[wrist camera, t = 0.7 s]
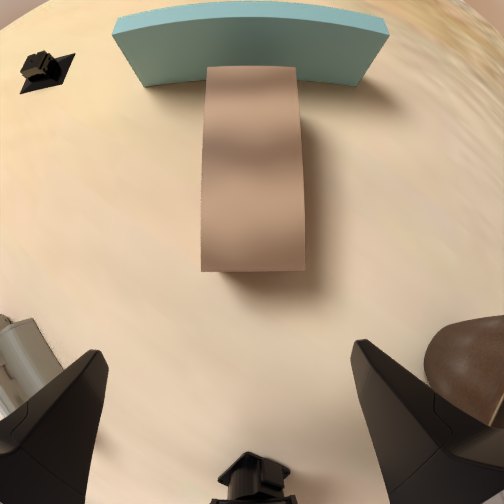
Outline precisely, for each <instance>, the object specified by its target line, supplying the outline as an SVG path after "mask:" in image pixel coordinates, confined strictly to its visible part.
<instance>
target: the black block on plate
mask: <svg viewBox="0 0 504 504" xmlns="http://www.w3.org/2000/svg"><path fill="white" fill-rule="evenodd" d="M74 56H75V53H74V54H70V55H66V56H62V57H59V58H55V59H54V58H53V57H52V56H51V54H50V53H47V52H46V51H45V50H44V51H41V52H38V53H37V54H32V55H30V56H28V57H27V59H26V61H25V63H24V65H23V67H22V69H21V71H20V72H21V73H22V74H23V75H22V76H24V77H25V78H26V81H25V83H24V85H23V87H22V90H21V92H20V94H23V93H27V92H31V91H35V90H39V89H43V88H48V87H52V86H57V85H62V84H63V82H64V79H65V77H66V74H67V72H68V70H69V67H70V65H71V63H72V60H73V58H74Z"/></svg>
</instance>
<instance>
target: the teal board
mask: <svg viewBox="0 0 504 504" xmlns="http://www.w3.org/2000/svg"><path fill="white" fill-rule="evenodd" d="M112 36H113V38H114V39H115V41H116V43H117V44H118V46H119V48H120V49H121V51H122V52H123V54H124V56H125V57H126V59H127V61H128V62H129V64H130V65H131V67H132V69H133V70H134V72H135V74H136V75H137V77H138V78H139V80H140V82H141V83H142V85H143V87H147V86H154V85H161V84H170V83H179V82H189V81H201V80H206V79H207V67H219V66H283V67H295V69H296V79H297V80H301V81H314V82H324V83H333V84H341V85H348V86H355V87H356V86H357V85H358V83H359V82H360V80H361V79H362V77H363V75H364V74H365V72H366V71H367V69H368V68H369V66H370V65H371V63H372V62H373V60H374V59H375V57H376V56H377V54H378V53H379V51H380V49H381V48H382V46H383V45H384V43H385V42H386V40H387V39H388V37H389V36H390V34H389V32H388V29H387V27H386V24H385V21H384V19H383V18H379V17H375V16H371V15H367V14H363V13H358V12H353V11H348V10H343V9H337V8H331V7H325V6H318V5H310V4H300V3H289V2H272V1H227V2H210V3H199V4H190V5H182V6H174V7H168V8H162V9H156V10H151V11H146V12H141V13H137V14H132V15H128V16H124V17H120V18H118V19H117V22H116V24H115V27H114V30H113V32H112Z"/></svg>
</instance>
